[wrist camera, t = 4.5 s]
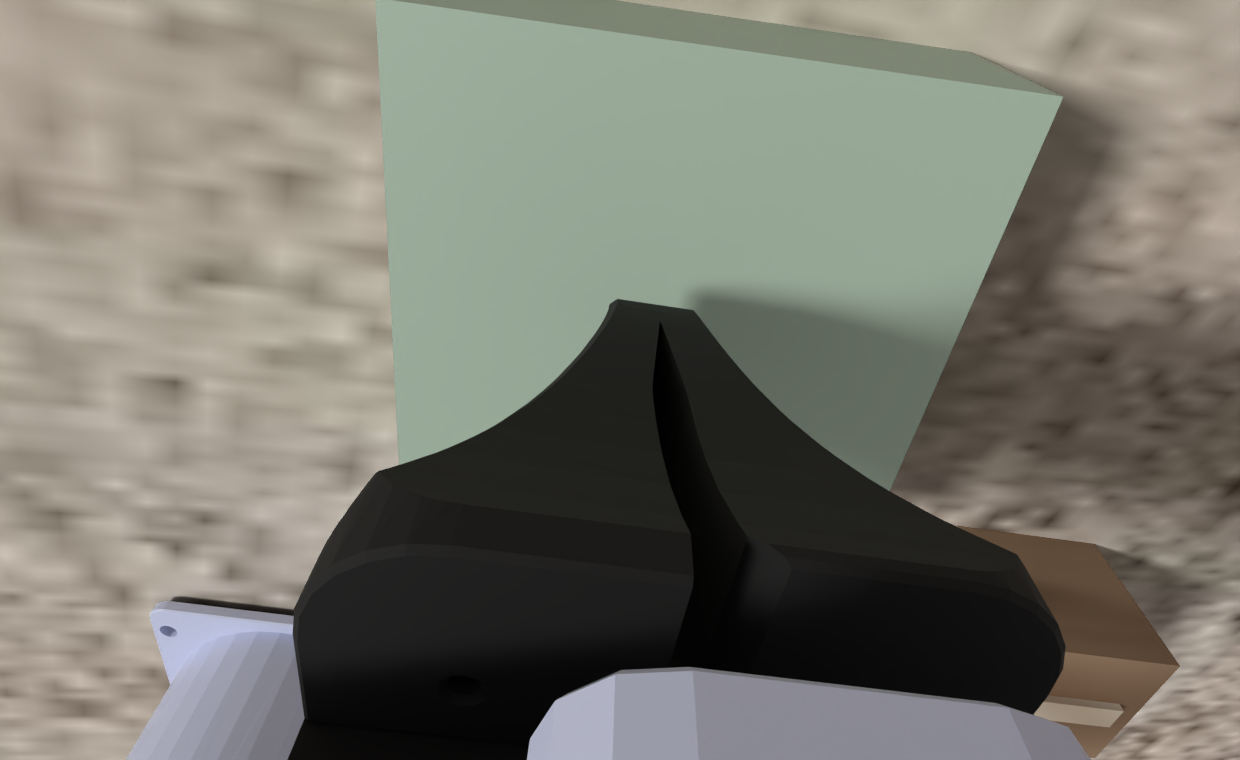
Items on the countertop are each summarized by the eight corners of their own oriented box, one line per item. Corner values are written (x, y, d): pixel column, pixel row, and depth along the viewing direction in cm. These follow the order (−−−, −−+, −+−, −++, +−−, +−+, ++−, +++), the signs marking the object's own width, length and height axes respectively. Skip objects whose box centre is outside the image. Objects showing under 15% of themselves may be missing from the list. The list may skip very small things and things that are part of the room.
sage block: (820, 451, 20) (856, 566, 16) (443, 407, 19) (401, 516, 16) (964, 48, 14) (1064, 97, 11) (440, -28, 14) (375, -3, 10)
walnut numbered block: (1029, 632, 23) (1098, 765, 19) (905, 617, 23) (953, 749, 19) (1093, 542, 21) (1184, 673, 17) (957, 523, 20) (1022, 653, 17)
